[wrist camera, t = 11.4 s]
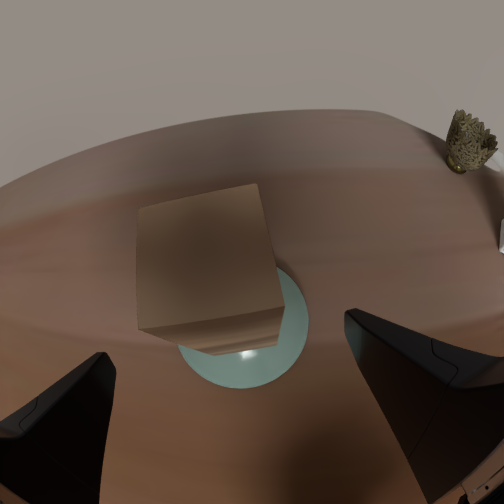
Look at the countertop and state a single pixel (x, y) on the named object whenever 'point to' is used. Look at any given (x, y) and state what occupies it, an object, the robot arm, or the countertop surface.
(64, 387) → the robot arm
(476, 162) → the cup
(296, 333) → the dish
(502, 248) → the syrup box
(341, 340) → the countertop surface
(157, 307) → the walnut block
